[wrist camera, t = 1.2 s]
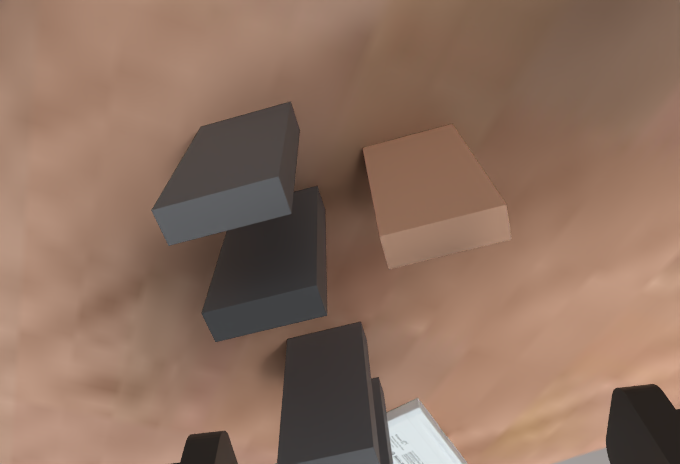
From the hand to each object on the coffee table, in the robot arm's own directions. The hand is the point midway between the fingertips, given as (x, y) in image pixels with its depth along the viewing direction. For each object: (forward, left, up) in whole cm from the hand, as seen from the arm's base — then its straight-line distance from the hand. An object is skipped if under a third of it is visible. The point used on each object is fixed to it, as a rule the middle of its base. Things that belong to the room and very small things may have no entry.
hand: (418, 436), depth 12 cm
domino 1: (+6, -1, -21) cm, 22 cm away
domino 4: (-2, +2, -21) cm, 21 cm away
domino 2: (+6, +4, -21) cm, 22 cm away
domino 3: (+6, +14, -21) cm, 26 cm away
